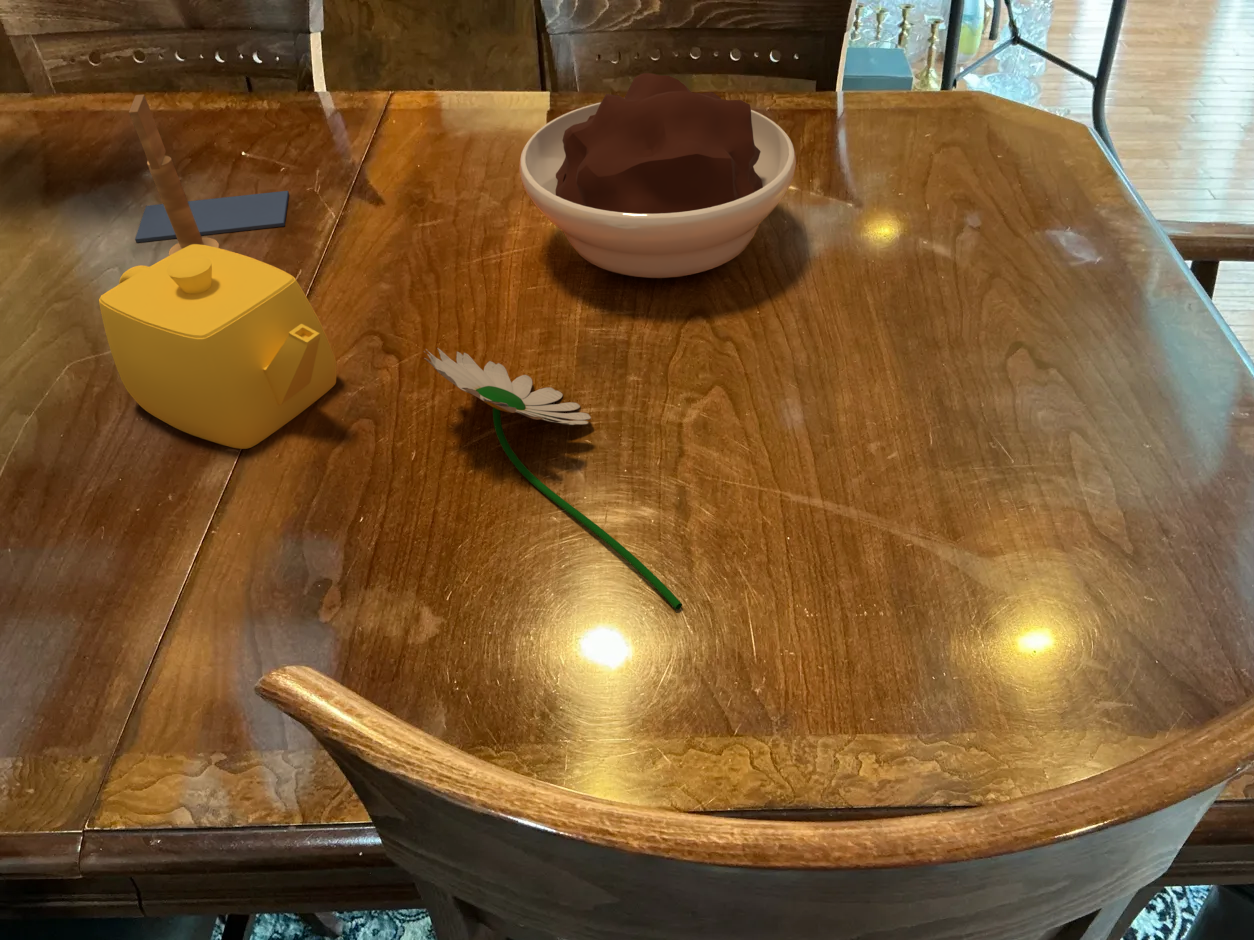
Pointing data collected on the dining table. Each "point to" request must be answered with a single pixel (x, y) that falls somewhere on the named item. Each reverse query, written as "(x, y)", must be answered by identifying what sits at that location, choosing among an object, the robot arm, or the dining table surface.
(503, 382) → the flower
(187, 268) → the teapot
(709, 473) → the dining table surface
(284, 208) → the blue-grey rectangular slab
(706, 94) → the bowl of brown chunks
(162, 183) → the wooden peg
